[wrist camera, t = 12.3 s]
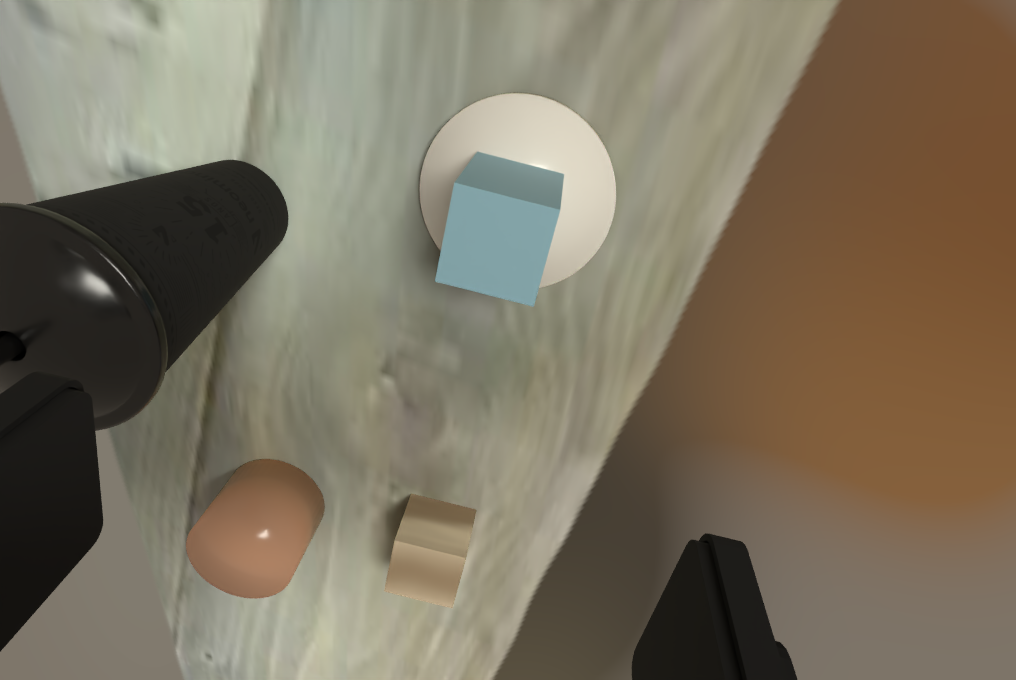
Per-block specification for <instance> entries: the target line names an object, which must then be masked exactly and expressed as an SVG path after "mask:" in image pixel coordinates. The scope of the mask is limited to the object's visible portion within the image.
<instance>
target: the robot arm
mask: <svg viewBox="0 0 1016 680" xmlns="http://www.w3.org/2000/svg"><path fill="white" fill-rule="evenodd" d="M102 526H103V513H102V502H101V491H100V480H99V468H98V457H97V446H96V435H95V424H94V413H93V401H92V397H91V396H90V394H89V393H86V392H84V389H83V385H82V384H81V383H80V382H79V381H77V380H74V379H70V378H66V377H62V376H58V375H54V374H49V373H45V372H41V371H37V372H33V373H31V374H29V375H27V376H25V377H24V378H22V379H21V380H20V381H18V382H17V383H15V384H14V385H12V386H11V387H10V388H8V389H7V390H5V391H4V392H2V393H1V394H0V651H1V650H2V649H3V648H4V647H5V646H6V645H7V643H8V642H9V641H10V640H11V639H12V638H13V637H14V635H15V634H16V633H17V632H18V631H19V630H20V629H21V627H22V626H23V625H24V624H25V623H26V622H27V620H28V619H29V618H30V617H31V616H32V615H33V614H34V613H35V611H36V610H37V609H38V608H39V607H40V606H41V605H42V603H43V602H44V601H45V600H46V599H47V598H48V596H49V595H50V594H51V593H52V592H53V591H54V590H55V589H56V587H57V586H58V585H59V584H60V583H61V582H62V581H63V579H64V578H65V577H66V576H67V575H68V574H69V573H70V571H71V570H72V569H73V568H74V567H75V566H76V565H77V563H78V562H79V561H80V560H81V559H82V558H83V557H84V555H85V554H86V553H87V552H88V551H89V550H90V549H91V547H92V546H93V545H94V544H95V542H96V541H97V539H98V537H99V535H100V533H101V530H102ZM632 680H797V677H796V674H795V671H794V667H793V664H792V661H791V658H790V656H789V654H788V652H787V650H786V648H785V647H784V646H783V645H782V644H781V643H780V642H777V641H775V639H774V636H773V633H772V629H771V626H770V623H769V620H768V616H767V613H766V610H765V606H764V603H763V600H762V596H761V593H760V590H759V586H758V583H757V580H756V576H755V573H754V570H753V567H752V563H751V560H750V557H749V553H748V550H747V548H746V546H745V544H744V543H743V542H741V541H737V540H733V539H729V538H725V537H720V536H716V535H712V534H704V535H703V536H702V537H701V538H700V540H699V541H696V540H690V541H689V542H688V544H687V545H686V547H685V549H684V551H683V553H682V555H681V557H680V559H679V561H678V563H677V565H676V568H675V569H674V571H673V573H672V575H671V577H670V580H669V582H668V584H667V586H666V588H665V590H664V592H663V594H662V596H661V598H660V600H659V602H658V604H657V606H656V608H655V610H654V612H653V614H652V616H651V618H650V620H649V622H648V624H647V626H646V628H645V630H644V632H643V634H642V636H641V638H640V640H639V642H638V644H637V646H636V649H635V651H634V655H633V661H632Z"/></svg>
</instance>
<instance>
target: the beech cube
mask: <svg viewBox="0 0 1016 680" xmlns="http://www.w3.org/2000/svg"><path fill="white" fill-rule="evenodd" d="M475 514H476V510H475V509H471V508H467V507H463V506H459V505H455V504H451V503H447V502H443V501H439V500H435V499H431V498H427V497H423V496H419V495H415V494H411V496H410V498H409V501H408V504H407V507H406V510H405V512H404V515H403V518H402V521H401V524H400V526H399V529H398V532H397V535H396V538H395V540H394V545H393V550H392V555H391V560H390V565H389V570H388V575H387V580H386V585H385V590H384V591H385V592H389V593H393V594H397V595H401V596H405V597H409V598H413V599H417V600H421V601H425V602H429V603H433V604H437V605H441V606H445V607H449V608H453V604H454V600H455V597H456V593H457V589H458V586H459V582H460V578H461V575H462V571H463V567H464V564H465V560H466V556H467V551H468V547H469V542H470V537H471V533H472V528H473V523H474V519H475Z"/></svg>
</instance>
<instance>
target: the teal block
mask: <svg viewBox="0 0 1016 680" xmlns="http://www.w3.org/2000/svg"><path fill="white" fill-rule="evenodd" d="M563 181H564V174H563V173H559V172H555V171H551V170H547V169H543V168H539V167H535V166H532V165H528V164H524V163H520V162H516V161H512V160H508V159H505V158H501V157H497V156H493V155H489V154H485V153H481V152H478V151H477V153H476V154H475V155H474V157H473V158H472V159H471V161H470V162H469V163H468V165H467V166H466V167H465V169H464V170H463V171H462V173H461V174H460V176H459V177H458V178H457V180H456V181H455V182H454V186H453V192H452V197H451V202H450V207H449V212H448V217H447V222H446V227H445V232H444V238H443V243H442V248H441V253H440V258H439V263H438V268H437V273H436V278H435V282H439V283H443V284H447V285H451V286H455V287H459V288H463V289H466V290H470V291H474V292H478V293H482V294H486V295H490V296H494V297H498V298H502V299H506V300H509V301H513V302H517V303H521V304H525V305H529V306H533V307H534V304H535V300H536V296H537V293H538V289H539V285H540V282H541V278H542V275H543V271H544V267H545V264H546V260H547V256H548V253H549V249H550V246H551V242H552V238H553V235H554V231H555V227H556V224H557V220H558V217H559V213H560V208H561V199H562V190H563Z"/></svg>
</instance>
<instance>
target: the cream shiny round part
mask: <svg viewBox="0 0 1016 680" xmlns="http://www.w3.org/2000/svg"><path fill="white" fill-rule="evenodd" d="M477 151H478V152H481V153H485V154H489V155H493V156H497V157H501V158H505V159H508V160H512V161H516V162H520V163H524V164H528V165H532V166H535V167H539V168H543V169H547V170H551V171H555V172H559V173H563V174H564V181H563V190H562V199H561V208H560V213H559V217H558V220H557V224H556V227H555V231H554V235H553V238H552V242H551V246H550V249H549V253H548V256H547V260H546V264H545V267H544V271H543V275H542V278H541V282H540V285H539V288H541V287H545V286H548V285H552V284H555V283H557V282H559V281H561V280H563V279H566V278H567V277H569V276H570V275H572V274H574V273H575V272H577V271H578V270H579V269H580V268H582V267H583V266H584V265H585V264H586V263H587V262H588V261H589V260H590V259H591V258H592V257H593V256H594V255H595V253H596V252H597V251H598V249H599V248H600V246H601V245H602V243H603V241H604V239H605V238H606V236H607V234H608V231H609V229H610V226H611V223H612V220H613V215H614V211H615V203H616V183H615V177H614V171H613V167H612V164H611V160H610V157H609V155H608V152H607V150H606V148H605V146H604V144H603V142H602V141H601V139H600V137H599V136H598V134H597V133H596V132H595V130H594V129H593V128H592V127H591V126H590V124H589V123H588V122H587V121H586V120H585V119H583V118H582V117H581V116H580V115H579V114H578V113H576V112H575V111H573V110H572V109H571V108H569V107H568V106H566V105H564V104H562V103H560V102H558V101H556V100H554V99H551V98H548V97H545V96H542V95H536V94H531V93H517V92H514V93H503V94H498V95H494V96H490V97H487V98H484V99H482V100H479V101H476V102H475V103H473V104H471V105H469V106H467V107H466V108H464V109H463V110H462V111H460V112H459V113H458V114H456V115H455V116H454V117H453V118H451V119H450V120H449V121H448V122H447V123H446V124H445V125H444V127H443V128H442V129H441V130H440V132H439V133H438V134H437V136H436V137H435V138H434V140H433V142H432V144H431V146H430V147H429V149H428V152H427V154H426V157H425V160H424V163H423V167H422V171H421V177H420V203H421V209H422V214H423V217H424V221H425V224H426V226H427V229H428V231H429V233H430V235H431V237H432V239H433V240H434V242H435V244H436V246H437V247H438V248H439V249H440V251H441V248H442V243H443V238H444V232H445V227H446V222H447V217H448V212H449V207H450V202H451V197H452V192H453V186H454V182H455V181H456V180H457V178H458V177H459V176H460V174H461V173H462V171H463V170H464V169H465V167H466V166H467V165H468V163H469V162H470V161H471V159H472V158H473V157H474V155H475V154H476V153H477Z"/></svg>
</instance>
